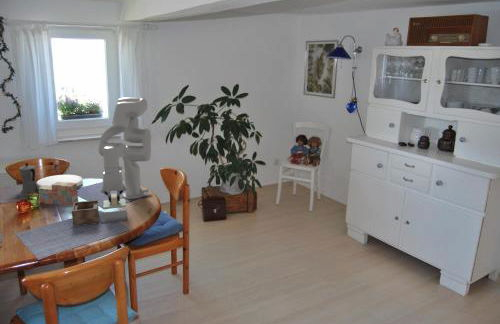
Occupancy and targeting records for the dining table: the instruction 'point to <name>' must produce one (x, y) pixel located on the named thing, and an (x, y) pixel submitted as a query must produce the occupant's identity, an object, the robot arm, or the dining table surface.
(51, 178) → the plate
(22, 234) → the dining table surface
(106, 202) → the lid
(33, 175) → the coffeepot
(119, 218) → the grey flat slab
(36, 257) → the dining table surface
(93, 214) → the box
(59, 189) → the stack of blocks
